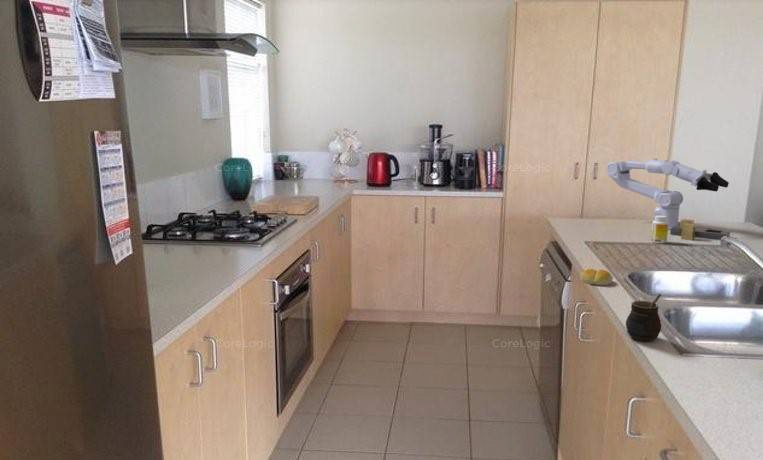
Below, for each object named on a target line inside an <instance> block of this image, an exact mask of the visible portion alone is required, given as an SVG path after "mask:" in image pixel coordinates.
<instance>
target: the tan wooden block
mask: <svg viewBox="0 0 763 460" xmlns="http://www.w3.org/2000/svg"><path fill="white" fill-rule="evenodd" d="M696 228H697V224H696V223H694V224H691V223H684V224H682V233H681V236H680V240H682V241H693V240H695V239H696V237H695V230H696Z"/></svg>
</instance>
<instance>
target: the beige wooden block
mask: <svg viewBox="0 0 763 460" xmlns="http://www.w3.org/2000/svg"><path fill="white" fill-rule="evenodd" d="M679 223H680V224H679V226H680V229H682V224H684V223H691V224H695V220H694V219H687V218H682V219H681V220H680V222H679Z"/></svg>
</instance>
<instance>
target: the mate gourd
mask: <svg viewBox="0 0 763 460" xmlns="http://www.w3.org/2000/svg"><path fill="white" fill-rule="evenodd" d="M661 296H662V294H661V293H658V295H657V296H656V298H654V300H653V301H647V300H636V301H635V300H634V301H632V302H631V307H630V308H631V309H630V313H629V315H627V318H626V321H625V327H626V333H628V335H629V337H631V338H632V339H633V340H635V341H640V342H652V341H653V340H656V339H657V338H658V337H659V335H660V333H661V331H662V322H661V318H660V315H659V305H658V304H657V301H658V300H659V299H660V298H661Z"/></svg>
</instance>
